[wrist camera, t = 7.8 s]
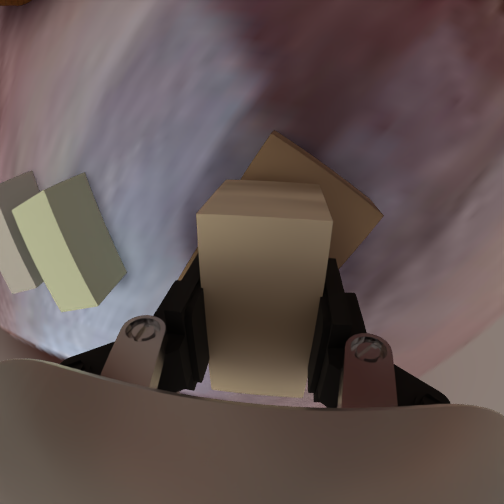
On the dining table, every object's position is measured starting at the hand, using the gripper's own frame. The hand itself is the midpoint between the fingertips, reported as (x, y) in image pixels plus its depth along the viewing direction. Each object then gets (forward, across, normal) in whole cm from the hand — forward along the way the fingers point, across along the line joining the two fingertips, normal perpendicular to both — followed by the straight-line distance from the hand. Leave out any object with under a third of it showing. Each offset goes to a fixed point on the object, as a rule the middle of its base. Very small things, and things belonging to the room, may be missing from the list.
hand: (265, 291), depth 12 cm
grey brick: (+6, +17, 0) cm, 18 cm away
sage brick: (+6, +12, 0) cm, 13 cm away
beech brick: (+2, 0, 0) cm, 2 cm away
